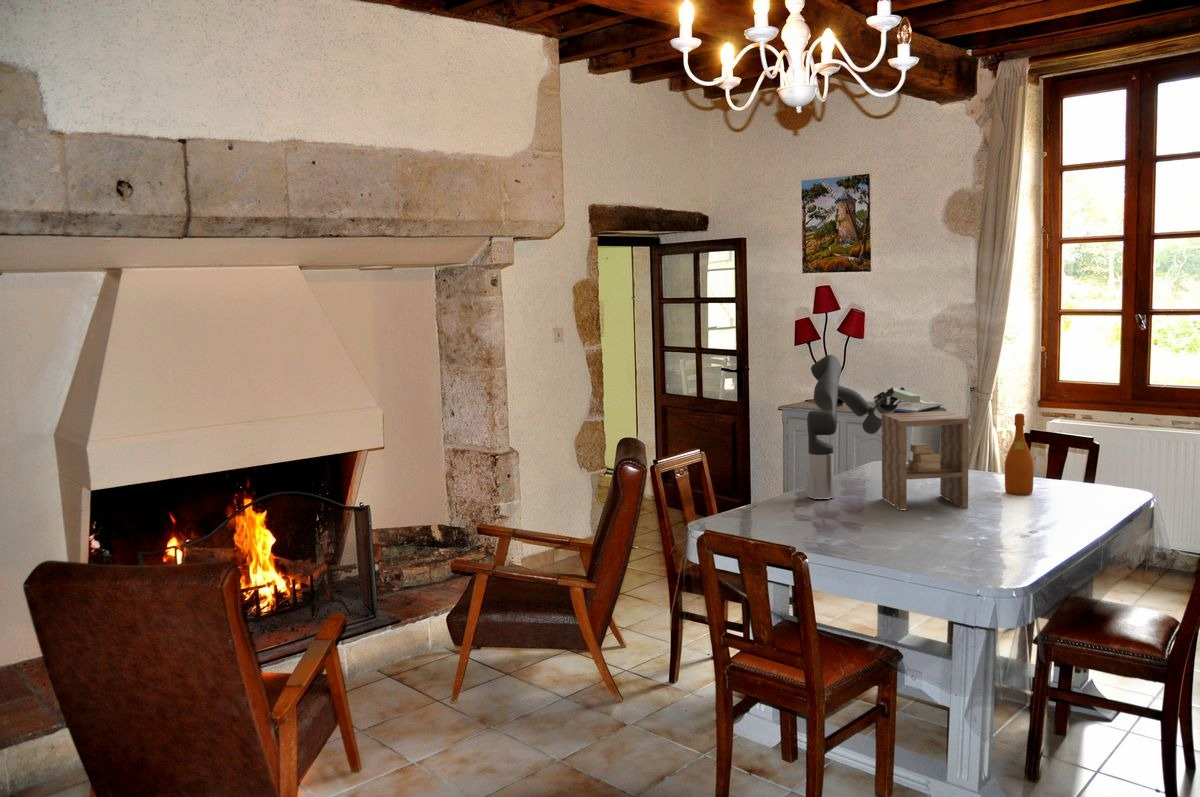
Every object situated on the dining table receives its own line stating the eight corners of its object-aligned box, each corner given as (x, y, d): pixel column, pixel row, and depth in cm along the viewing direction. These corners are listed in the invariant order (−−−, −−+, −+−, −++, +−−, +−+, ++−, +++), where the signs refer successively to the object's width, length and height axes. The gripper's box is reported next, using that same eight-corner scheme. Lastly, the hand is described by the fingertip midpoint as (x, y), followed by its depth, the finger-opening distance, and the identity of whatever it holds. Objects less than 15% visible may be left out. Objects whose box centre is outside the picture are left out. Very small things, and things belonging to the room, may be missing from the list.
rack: (882, 498, 355) (881, 413, 351) (945, 495, 355) (945, 411, 352) (901, 511, 335) (900, 421, 331) (968, 507, 336) (968, 418, 332)
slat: (886, 394, 375) (886, 388, 375) (895, 394, 375) (895, 388, 375) (910, 402, 349) (910, 396, 349) (919, 402, 349) (919, 395, 349)
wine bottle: (998, 492, 358) (999, 413, 354) (1017, 489, 362) (1018, 411, 358) (1020, 497, 349) (1020, 416, 345) (1039, 493, 353) (1040, 413, 349)
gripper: (866, 399, 384) (878, 381, 369) (900, 397, 385) (914, 380, 369) (869, 416, 382) (881, 399, 366) (904, 414, 382) (917, 397, 366)
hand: (897, 389), depth 368 cm, fingers closed on slat, 3 cm apart
